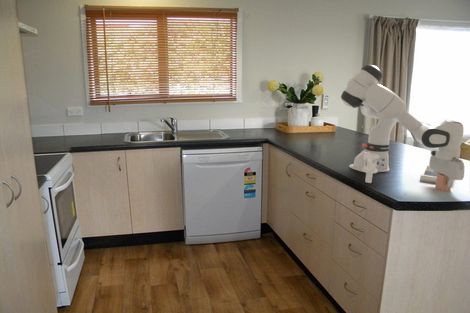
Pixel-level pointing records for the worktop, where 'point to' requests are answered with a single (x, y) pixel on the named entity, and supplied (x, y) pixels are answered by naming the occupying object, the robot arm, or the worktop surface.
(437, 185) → the terracotta block
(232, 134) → the worktop surface
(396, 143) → the worktop surface
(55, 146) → the worktop surface
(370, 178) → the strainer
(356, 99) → the robot arm
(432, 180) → the divided tray
